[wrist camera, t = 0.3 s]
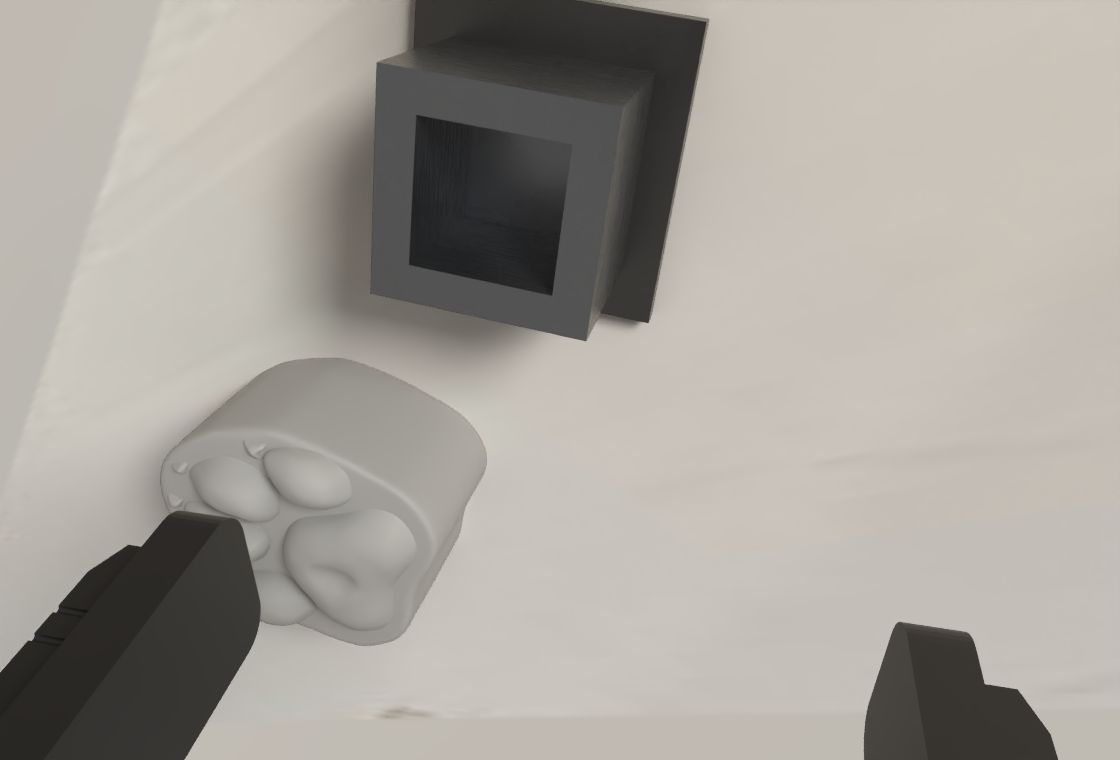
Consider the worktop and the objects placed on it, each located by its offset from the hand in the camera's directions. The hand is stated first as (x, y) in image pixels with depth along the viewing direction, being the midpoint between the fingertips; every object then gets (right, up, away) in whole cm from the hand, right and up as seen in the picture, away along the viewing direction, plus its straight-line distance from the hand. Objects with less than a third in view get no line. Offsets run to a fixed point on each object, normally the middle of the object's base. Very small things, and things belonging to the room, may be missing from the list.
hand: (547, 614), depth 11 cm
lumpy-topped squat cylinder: (-10, -1, +35) cm, 37 cm away
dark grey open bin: (0, +12, +26) cm, 28 cm away
